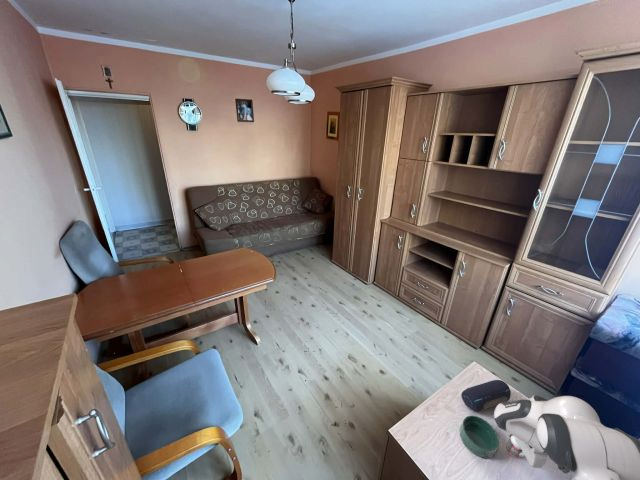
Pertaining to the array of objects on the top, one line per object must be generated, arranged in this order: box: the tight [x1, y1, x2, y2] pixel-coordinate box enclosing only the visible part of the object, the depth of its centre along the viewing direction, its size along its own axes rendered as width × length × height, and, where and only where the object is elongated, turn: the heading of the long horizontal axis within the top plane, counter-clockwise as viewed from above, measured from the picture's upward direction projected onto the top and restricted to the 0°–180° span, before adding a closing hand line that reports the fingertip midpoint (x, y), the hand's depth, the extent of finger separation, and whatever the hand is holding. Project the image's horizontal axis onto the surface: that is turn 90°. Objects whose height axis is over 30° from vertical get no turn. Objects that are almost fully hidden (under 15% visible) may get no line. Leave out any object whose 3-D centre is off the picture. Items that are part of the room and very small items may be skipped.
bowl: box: [458, 415, 500, 459], centre depth 117 cm, size 14×14×6 cm
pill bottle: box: [505, 436, 522, 459], centre depth 112 cm, size 5×5×10 cm
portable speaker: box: [460, 379, 512, 412], centre depth 132 cm, size 25×10×10 cm, turn 107°
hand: (515, 445), depth 113 cm, fingers closed on pill bottle, 5 cm apart
